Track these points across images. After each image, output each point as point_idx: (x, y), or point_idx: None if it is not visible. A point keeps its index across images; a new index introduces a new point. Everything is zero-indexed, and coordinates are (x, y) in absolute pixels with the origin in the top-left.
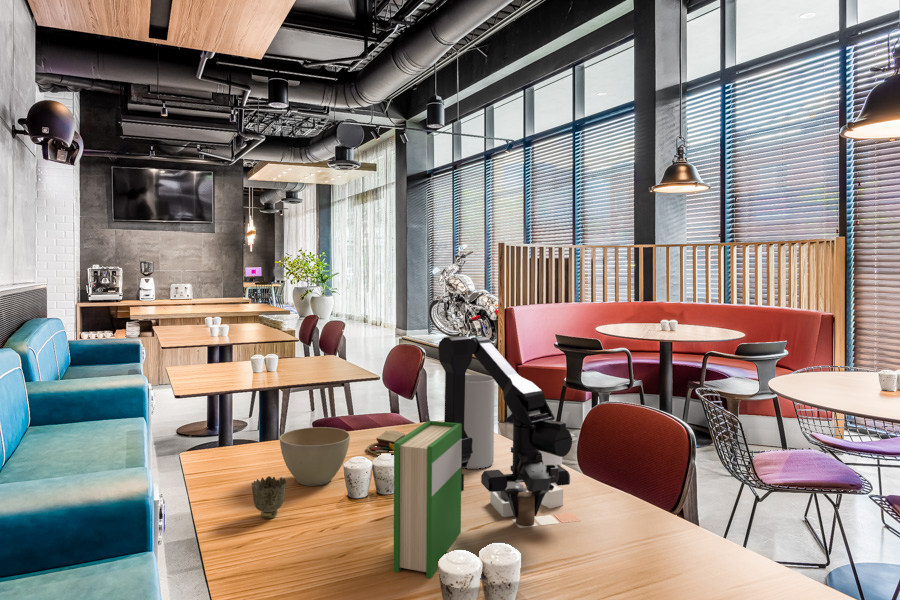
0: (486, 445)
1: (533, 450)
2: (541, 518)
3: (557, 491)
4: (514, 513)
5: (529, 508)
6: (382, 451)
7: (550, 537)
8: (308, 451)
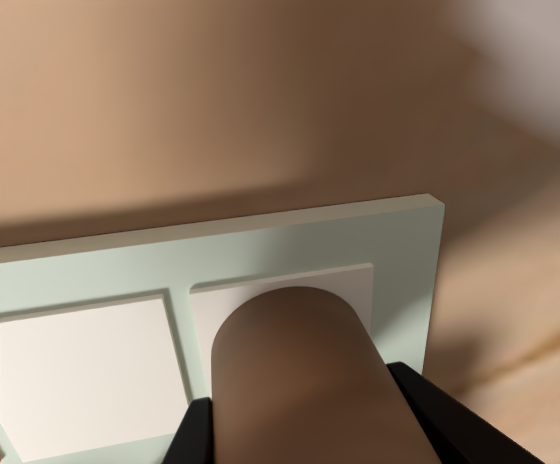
0: None
1: None
2: (125, 410)
3: None
4: (435, 396)
5: (326, 433)
6: None
7: (109, 118)
8: None
